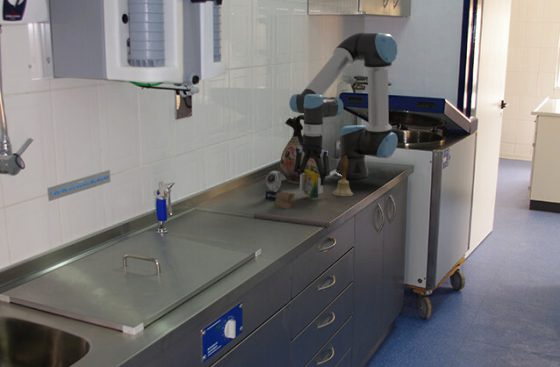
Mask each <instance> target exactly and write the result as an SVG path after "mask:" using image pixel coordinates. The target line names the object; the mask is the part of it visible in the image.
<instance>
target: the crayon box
mask: <svg viewBox="0 0 560 367" xmlns="http://www.w3.org/2000/svg"><path fill="white" fill-rule="evenodd" d="M313 168H315V170H314V169H313ZM318 177H320V174H319V171H318V168H317V166H315V167H314V166H312V165H311V170H305V174H304V190H303V194H304V195H306V196H308V197H309V198H312V199H315V198H316V199H317V198H319V194H318Z"/></svg>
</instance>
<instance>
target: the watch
mask: <svg viewBox="0 0 560 367" xmlns="http://www.w3.org/2000/svg"><path fill="white" fill-rule="evenodd" d="M265 182H266V186H267V190H266V191H265V197H264V198H265V200H270V201H276V194H277V193H280V192H282V191H283V190H281V189H280V188H281V185H282V184H281V183H282V175H281V171H277V170H271V171H270V172H269V173H268V174H266V176H265Z"/></svg>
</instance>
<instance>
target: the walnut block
mask: <svg viewBox="0 0 560 367" xmlns="http://www.w3.org/2000/svg"><path fill="white" fill-rule="evenodd" d="M294 203H295V193H294V192H289V191H284V190H282V192H280V193H277V194H276V200H275V207H276V208H282V209H286V210H287V209H290V208H292V207H294V205H295V204H294Z"/></svg>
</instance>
